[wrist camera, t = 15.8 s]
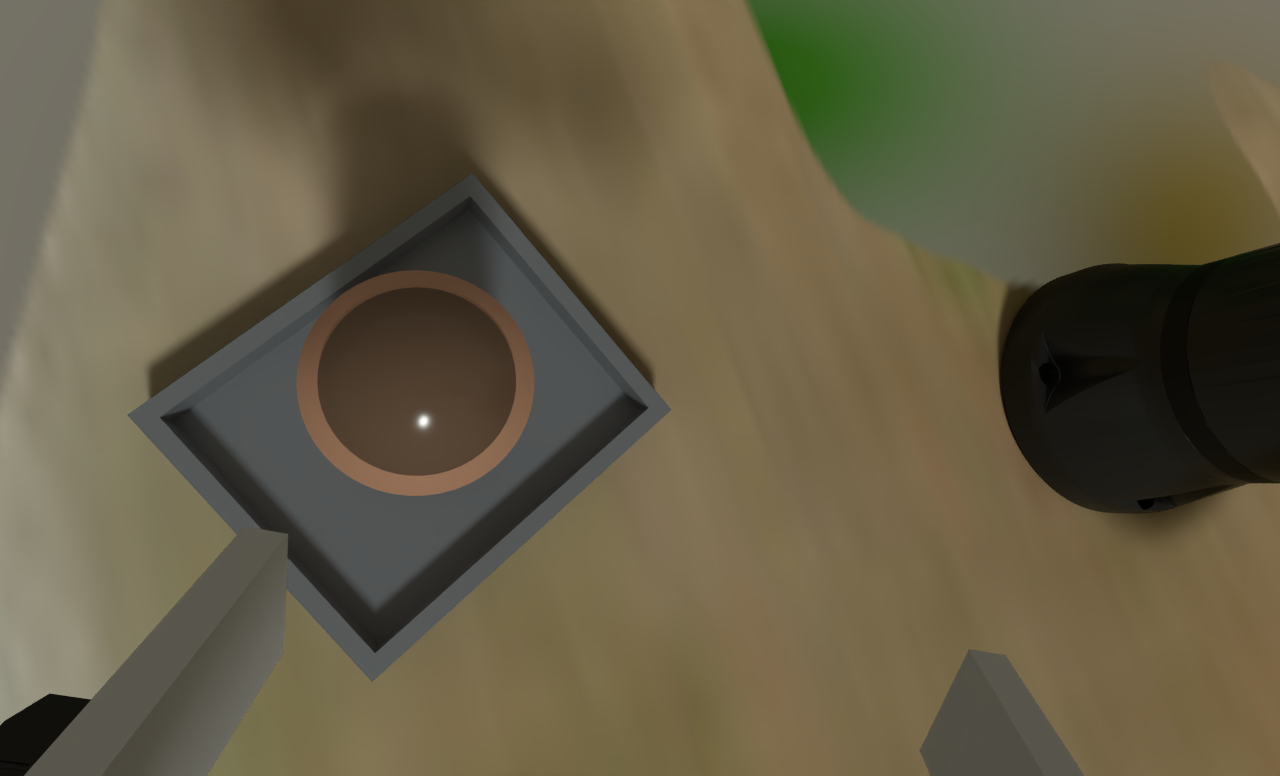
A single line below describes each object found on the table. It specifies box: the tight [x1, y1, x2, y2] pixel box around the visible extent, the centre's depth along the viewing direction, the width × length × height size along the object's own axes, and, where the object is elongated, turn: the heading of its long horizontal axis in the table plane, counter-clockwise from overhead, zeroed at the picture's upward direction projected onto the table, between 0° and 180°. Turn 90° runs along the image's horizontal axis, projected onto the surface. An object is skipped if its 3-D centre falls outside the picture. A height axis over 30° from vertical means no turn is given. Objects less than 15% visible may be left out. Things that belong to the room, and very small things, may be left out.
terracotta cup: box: [296, 270, 534, 496], centre depth 28 cm, size 7×7×12 cm
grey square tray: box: [128, 173, 671, 681], centre depth 33 cm, size 15×18×2 cm
